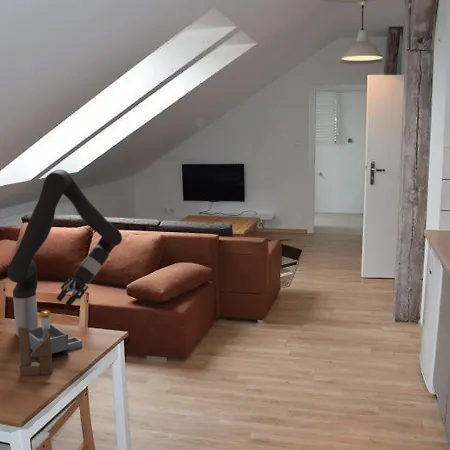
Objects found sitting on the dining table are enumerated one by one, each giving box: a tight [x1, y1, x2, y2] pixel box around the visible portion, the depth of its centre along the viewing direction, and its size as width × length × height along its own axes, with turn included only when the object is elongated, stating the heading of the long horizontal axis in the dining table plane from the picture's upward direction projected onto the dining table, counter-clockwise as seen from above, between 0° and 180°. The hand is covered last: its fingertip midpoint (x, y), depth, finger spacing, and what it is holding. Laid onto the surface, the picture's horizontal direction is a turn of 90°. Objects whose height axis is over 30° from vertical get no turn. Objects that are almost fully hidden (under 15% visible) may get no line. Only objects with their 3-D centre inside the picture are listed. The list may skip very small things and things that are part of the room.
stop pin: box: [39, 310, 51, 340], centre depth 204 cm, size 4×4×12 cm
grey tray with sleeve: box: [29, 323, 83, 363], centre depth 207 cm, size 15×19×9 cm
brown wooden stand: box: [18, 325, 54, 377], centre depth 187 cm, size 4×11×18 cm, turn 96°
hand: (62, 302), depth 207 cm, fingers open, 8 cm apart
